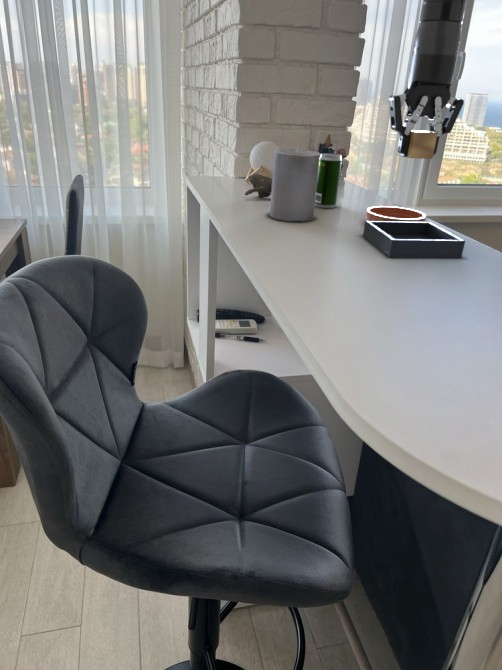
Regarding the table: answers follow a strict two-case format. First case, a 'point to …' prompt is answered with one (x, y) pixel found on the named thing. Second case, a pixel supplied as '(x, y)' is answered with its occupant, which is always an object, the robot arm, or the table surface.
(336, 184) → the beer can
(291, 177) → the pillar candle
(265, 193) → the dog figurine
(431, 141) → the block
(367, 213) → the plate
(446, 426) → the table surface
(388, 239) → the tray
